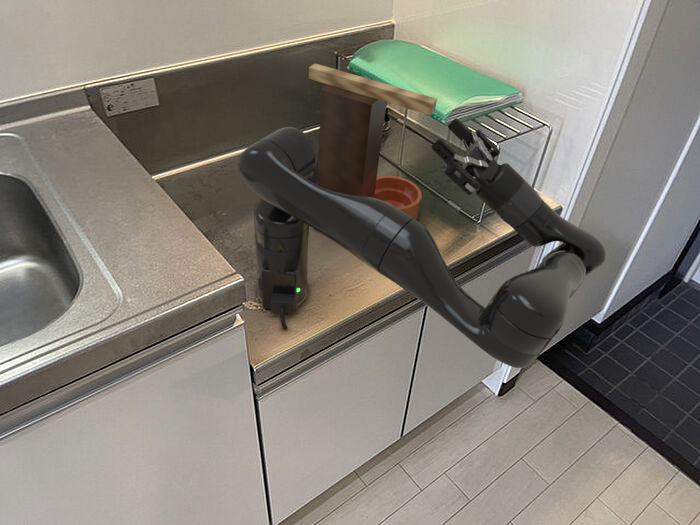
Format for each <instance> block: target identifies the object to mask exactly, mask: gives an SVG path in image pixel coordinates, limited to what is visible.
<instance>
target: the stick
mask: <svg viewBox="0 0 700 525" xmlns="http://www.w3.org/2000/svg"><path fill="white" fill-rule="evenodd" d="M308 80H312V81H315V82H319V83H322V84H324V85H331V86H335V87H338V88H341V89H344V90H348V91H351V92H354V93H358V94H361V95H364V96H368V97H371V98H374V99H378V100H381V101H384V102H386V103H388V104H391V105H395V106H398V107H401V108H405V109H408V110H411V111H414V112H417V113H421V114H424V115H428V116H432V115H433V113H434V112H435V111H436V107H437V103H438V98H435V97H432V96H429V95H425V94H422V93H418V92H415V91H411V90H409V89H405V88H401V87H398V86H394V85H391V84H387V83H384V82H381V81H377V80H374V79H370V78H367V77H364V76H360V75H357V74H353V73H350V72H346V71H343V70H339V69H336V68H333V67H329V66H325V65H322V64H320V63H319V64H318V63H313V64H312V65H310V66H309V67H308Z"/></svg>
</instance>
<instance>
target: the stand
mask: <svg viewBox="0 0 700 525" xmlns="http://www.w3.org/2000/svg"><path fill="white" fill-rule="evenodd" d="M386 109H387V102H384V101H381V100H378V99H374V98H371V97H368V96H364V95H361V94H358V93H354V92H351V91H348V90H344V89H341V88H338V87H335V86H331V85H328V84H326V86H324V87H322V88H321V90H320V109H319V110H320V111H319V132H318V133H319V134H318V155H317V159H318V178H317V185H319V186H321V187H324V188H326V189H330V190H333V191H338V192H343V193H349V194H355V195H361V196H367V197H372V198H374V194H375V186H376V179H377V177H378V169H379V162H380V156H381V147H382V141H383V133H384V132H383V131H384V125H385V116H386Z"/></svg>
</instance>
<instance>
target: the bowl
mask: <svg viewBox="0 0 700 525" xmlns="http://www.w3.org/2000/svg"><path fill="white" fill-rule="evenodd" d="M374 198H376V199H380V200H383V201H385V202H388V203H390V204H391V205H393V206H395V207H397V208H398V209H400V210H401V211H403V212H405V213H406V214H408V215H409V216H411V217H412V218H414V219H416V220H417V219H418V218H419V213H420V208H421V203H422V199H423V196H422V190H421V189H420V187H418V185H417V184H416V183H414V182H412V181H411V180H409V179H407V178H404V177H401V176H396V175H382V176H377V179H376V186H375V194H374Z"/></svg>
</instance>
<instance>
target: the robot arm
mask: <svg viewBox="0 0 700 525" xmlns="http://www.w3.org/2000/svg"><path fill="white" fill-rule="evenodd" d="M447 128H448V130H449V131H450V132H451V133H453V134H454V135H455V137H457V138H458V139H459V140H460V142H462V143H463V145H464V147H465V149H466V150H465V155H466V156H461V155H459V154H456V152H455V151H454V150H453V148H452V147H451V146H450V145H448V143H446V142H445V141H444V140H443V139H442V138H437V140H436V141H435V142H433V144H432V145H431V149H432V151H433V152H434V153H435V154H436V155H437V156H438V157H440V159H441V160H443V161H444V163H445V167H446V169H445V170H444V174H445V175H446V176H447V178H449V180H451V181H452V182H453V183H454V184H455V185H456V186H458V188H460V189H461V190H462V191H463V192H464V193H465V194H467V195H468V196H471V195H472V194H473V193H474V192H475V194H476V196H477V197H478V198H479V199H480V200H481V201H482V202H483V203H484V204H485V205H486V206H487V207H488V208H489V209H490V210H491V211H493V213H494V214H495V215H497V217H498V218H500V220H502V221H503V222H504V223H505V224H507V225H508V226H509V227H511V228H512V229H513V230H514V231H515V232H516V233H517V234H518V235H519V236H520V237H521V238H522V239H523V240H524V241H525V242H526V243H527V244H529V245H530V246H531V247H534V248H539V247H543V246H545V245H548V244H550V243H553V242H560V244H559V245H557V246H556V247H555V248H553V249H552V250H551V251H549V252H548V253H547V254H546V255H544V256H543V258H542V259H541V262H540V263H539V264H538V265H537V266H536V267H534V268H532V269H530V270H528V271H524V272H522V273H518V274H516V275H514V276H512V277H510V278H509V279H507V280H506V281H505V282H503V283H502V284H501V285H500V286H499V288H498V289H497V290H496V292H495V293H494V294H493V296H492V297H491V299H490V300H489V301H488V303H487V304H486V306H484V305H482V304H481V303H479V301H476V299H474V298H473V297H472V296H471V295H470V294H469V293H468V292H466V291H465V290H464V289H463V288H462V286H460V284H459V283H458V281H457V280H456V278H455V277H454V275H453V274H452V272H451V270H450V269H449V267H448V264H447V262H446V260H445V258H444V255H443V254H442V252H441V250H440V247H439V246H438V244H437V242H436V240H435V238H434V237H433V236H432V233H431V232H430V231H429V230H428V229H427V227H426V226H425V225H424V224H423V223H421V222H420V221H419V220H417V219H414V218H412V217H411V216H409V215H408V214H406V213H405V212H403V211H401V210H400V209H398V208H397V207H395V206H393V205H391V204H390V203H388V202H385V201H383V200H380V199H376V198H372V197H367V196H361V195H355V194H349V193H343V192H338V191H333V190H330V189H326V188H324V187H321V186H319V185H317V178H318V155H317V151H316V148H315V146H314V143H313V141H312V140H311V139H310V137H309V136H308V135H307V134H306V133H305V132H304V131H302V130H301V129H298V128H296V127H293V126H284V127H282V128H278V129H277V130H275V131H273V132H271V133H270V134H268V135H265V137H263V138H261V139H259V140H257V141H256V142H254V143H252V144H251V145H249V146H248V147H247V148H245V149H244V150H243V151H242V152H241V153H240V155H239V156H238V160H237V170H238V174H239V177H240V178H241V180H242V182H243V183H244V184H245V186H246V187H247V188H248V190H250V191H251V192H252V193H253V194H254V195H255V196H257V197H258V198H259V199H258V200H257V202H256V203H255V206H254V208H253V225H254V246H255V263H256V264H255V266H256V281H257V282H256V283H257V288H256V290H257V291H256V294H257V299H258V300H259V302H260V303H261V304H262V309H263V310H270V313H278V314H279V316H280V317H279V319H280V324H281V327H282V329H283V330H284V331H286V330H287V329H288V325H287V323H286V318H285V317H286V316H285V314H289V315H290V314H291V315H294V314H295V312H296V311H297V308H298V307H300V306H301V305H302V304H303V303H304V302H305V300H306V299H307V296H308V267H309V265H308V264H309V236H310V227H311V228H312V229H314V230H315V231H317V232H319V233H320V234H321V235H323V236H325V237H326V238H328V239H329V240H330V241H332V242H334V243H336V244H337V245H339V246H341V247H342V248H343V249H344V250H346V251H347V252H349V253H350V254H352V256H354V257H355V258H357V259H358V260H359V261H361V262H362V263H363V264H365V265H366V266H369V268H371V269H373V270H374V271H375V272H377V273H379V274H380V275H381V276H383V277H385V278H387V279H388V280H389V281H391V282H393V283H394V284H396V285H397V286H399V287H400V288H402V289H404V290H405V291H406V292H407V293H409V294H411V295H412V296H413V297H415V298H416V299H418V300H419V301H420V302H422V303H423V304H425V305H426V306H428V307H429V308H430V309H431V310H432V311H434V312H435V313H436V314H438V315H439V316H441V318H443V319H444V320H445V321H446V322H448V323H449V324H450V325H452V327H454V328H455V329H456V330H458V331H459V332H460V333H462V335H464V337H466V338H467V339H468V340H469V341H471V342H472V343H473V344H475V345H476V346H477V347H478V348H479V349H481V350H482V351H484V352H485V353H486V354H487V355H489V356H491V358H494V359H495V360H496V361H499V362H500V363H502V364H504V365H506V366H508V367H512V368H515V369H526V368H529V367H530V366H531V365H532V364H533V363H534V362H535V361H536V360H537V359H538V357H539V356H540V355H541V354H542V353H543V351H544V350H545V348H546V347H547V346H548V345H549V344H550V342H551V341H552V340H553V339H554V337H555V336H556V335H557V334H558V333H559V331H560V330H561V328H562V326H563V324H564V321H565V319H566V316H567V312H568V309H569V308H568V307H569V301H570V299H571V298H572V296H574V295H575V294H576V292H577V291H578V290H579V288H580V287H581V285H582V284H583V282H584V281H585V278H586V276H588V275H589V274H591V273H592V272H594V271H595V270H597V269H598V268H601V266H602V265H604V264H605V262H606V259H607V251H606V248H605V246H604V244H603V243H602V241H601V240H600V239H598V238H597V236H595V235H594V234H592V233H590V232H589V231H586V230H585V229H582V227H579V226H577V225H575V224H574V223H571V222H570V221H568V220H567V219H565V218H563V217H562V216H561V215H559V214H558V213H557V212H556V211H555V210H554V209H553V208H551V206H550V205H548V203H547V202H546V201H545V200H544V199H542V197H541V196H540V195H539V193H538V192H537V191H536V189H534V187H533V186H531V184H529V182H528V181H526V179H525V178H524V177H522V175H521V174H520V173H519V172H517V171H516V169H514V168H513V167H512V166H511V165H510V164H509V163H508V162H505V163H502V164H498V162H497V161H496V158H497V157H498V156H499V155H501V151H500V150H499V148H497V146H496V145H495V144H494V143H493V142H492V141H491V140H490V139H489V138H488V137H487V136H486V135H485V134H484V132H482V130H481V129H476V130H475V131H473V130H472V131H470V129H469V128H468V127H466V125H465V124H464V123H463V122H461V121H460V119H458V118H457V117H455V118H454V119H453V120H452V121H450V123H448V125H447ZM480 140H481V141H480ZM458 175H459V176H458Z"/></svg>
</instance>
